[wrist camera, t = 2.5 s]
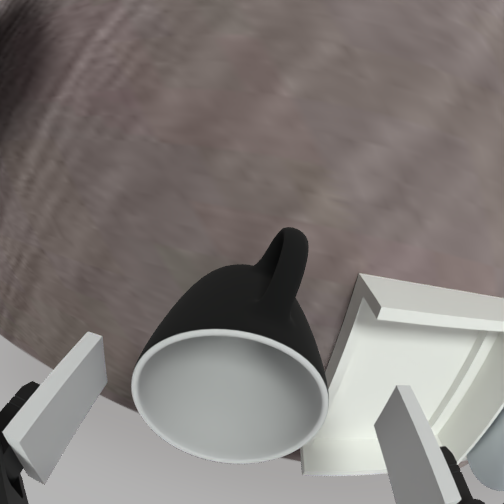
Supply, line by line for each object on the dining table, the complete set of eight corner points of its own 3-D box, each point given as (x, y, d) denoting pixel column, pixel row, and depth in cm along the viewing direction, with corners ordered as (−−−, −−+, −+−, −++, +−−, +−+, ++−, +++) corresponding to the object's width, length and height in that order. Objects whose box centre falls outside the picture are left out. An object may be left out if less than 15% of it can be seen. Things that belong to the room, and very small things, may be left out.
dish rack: (299, 434, 26) (302, 484, 21) (358, 273, 21) (387, 315, 15) (469, 427, 26) (487, 461, 21) (539, 304, 21) (574, 331, 15)
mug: (272, 372, 24) (273, 478, 14) (166, 329, 23) (117, 426, 14) (351, 239, 20) (413, 313, 11) (225, 181, 20) (184, 212, 10)
